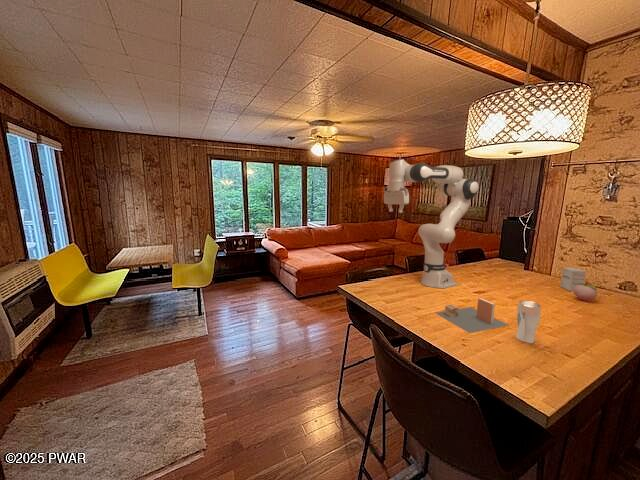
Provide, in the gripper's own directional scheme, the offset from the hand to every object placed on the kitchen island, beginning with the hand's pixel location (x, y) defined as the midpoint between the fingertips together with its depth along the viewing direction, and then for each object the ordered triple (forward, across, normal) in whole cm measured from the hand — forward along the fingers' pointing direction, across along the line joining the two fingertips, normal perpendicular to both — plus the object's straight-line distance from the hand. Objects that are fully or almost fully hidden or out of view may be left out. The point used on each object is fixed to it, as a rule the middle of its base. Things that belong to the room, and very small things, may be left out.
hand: (395, 212), depth 152 cm
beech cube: (+47, -40, -5) cm, 62 cm away
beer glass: (+48, -66, -16) cm, 83 cm away
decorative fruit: (+48, -49, -87) cm, 111 cm away
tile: (+47, -50, -15) cm, 70 cm away
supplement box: (+48, -35, -102) cm, 119 cm away
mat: (+47, -46, -10) cm, 67 cm away
